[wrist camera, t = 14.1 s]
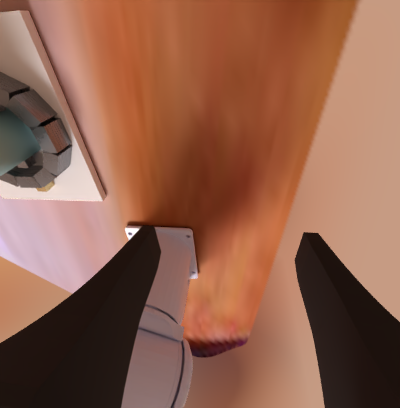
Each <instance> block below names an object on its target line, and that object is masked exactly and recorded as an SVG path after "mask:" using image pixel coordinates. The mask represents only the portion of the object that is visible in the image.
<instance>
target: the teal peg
mask: <svg viewBox="0 0 400 408" xmlns="http://www.w3.org/2000/svg"><path fill="white" fill-rule="evenodd" d="M40 150H41V147H40V145H39V143H38V142H37V140H36V138H35V136H34V134H33V133H32V131H31V129H30V128H29V127H28V126H27V125H26V124H24V123H23V122H22V121H21V120H20V119H19V118H18V117H17V116H16V115H15V114H14V113H13V112H11V111H10V110H9V109H8V108H6V107H4V106H2V105H0V176H1V175H3V174H5V173H6V172H8V171H9V170H11V169H12V168H14V167H15V166H18V168H30V167H31V166H32V165H34V164H35V163H37V162H36V161H35V159H34V157H33V155H34V154H35V153H37V152H38V151H40Z"/></svg>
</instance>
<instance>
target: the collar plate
mask: <svg viewBox="0 0 400 408" xmlns="http://www.w3.org/2000/svg"><path fill="white" fill-rule="evenodd" d="M0 105H2V106H4V107H6V108H8V109H9V110H10V111H11V112H13V113H14V114H15V115H16V116H17V117H18V118H19V119H20V120H21V121H22V122H23V123H24V124H26V125H27V126H28V127H29V128H30V129H31V131H32V133H33V134H34V136H35V138H36V140H37V142H38V143H39V145H40V147H41V150H40V151H38V152H37V153H35V154H34V155H33V157H34V159H35V161H36V162H37V163H35V164H34V165H32V166H31V167H30V168H18V166H15V167H14V168H12V169H11V170H9V171H8V172H6V173H5V174H3V175H1V176H0V195H1V196H2V198H3V199H37V200H73V201H104V199H105V198H106V195H105V192H104V190H103V187H102V185H101V183H100V180H99V178H98V176H97V173H96V171H95V168H94V166H93V164H92V161H91V159H90V156H89V154H88V152H87V149H86V147H85V144H84V142H83V140H82V137H81V135H80V132H79V130H78V128H77V125H76V123H75V121H74V118H73V116H72V113H71V111H70V109H69V106H68V104H67V101H66V99H65V97H64V94H63V92H62V89H61V87H60V85H59V82H58V80H57V77H56V75H55V73H54V70H53V68H52V66H51V63H50V61H49V58H48V56H47V54H46V51H45V49H44V46H43V44H42V42H41V39H40V37H39V34H38V32H37V30H36V27H35V25H34V22H33V20H32V18H31V15H30V13H29V11H23V10H18V11H8V12H0Z"/></svg>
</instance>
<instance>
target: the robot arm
mask: <svg viewBox="0 0 400 408" xmlns="http://www.w3.org/2000/svg"><path fill="white" fill-rule="evenodd" d="M125 232H126V234H127V237H128V239H129V241H128V242H127V243H126V244H125V245H124V246H123V248H122V249H121V250H120V251H119V252H118V253H117V254H116V255H115V256H114V257H113V258H112V259H111V260H110V261H109V262H108V263H107V264H106V265H105V266H104V267H103V268H102V269H101V270H100V271H99V272H98V273H97V274H95V275H94V276H93V277H92V278H91V279H90V280H89V281H88V282H86V283H85V284H84V285H83V286H82V287H81V288H79V289H78V290H77V291H76V292H74V293H73V294H72V295H71V296H69V297H68V298H67V299H66V300H64V301H63V302H61V303H60V304H59V305H58V306H56V307H55V308H54V309H52V310H51V311H49V312H48V313H47V314H45V315H44V316H42V317H41V318H39V319H38V320H37V321H35V322H33V323H32V324H30V325H29V326H27V327H26V328H24V329H23V330H21V331H19V332H18V333H16V334H15V335H13V336H12V337H10V338H8V339H6V340H5V341H3V342H1V343H0V408H183V407H184V405H185V402H186V400H187V396H188V393H189V389H190V383H191V377H192V366H193V362H192V354H191V350H190V346H189V343H188V342H187V340H185V339H184V338H183V332H184V327H183V326H180V325H181V323H182V320H183V317H184V311H185V305H186V300H187V294H188V289H189V283H190V278H193V279H196V278H198V270H197V262H196V254H195V246H194V238H193V231H192V230H191V229H189V228H171V227H154V226H144V225H143V226H126V228H125ZM130 232H131V233H130ZM188 235H189V236H188ZM295 264H296V272H297V278H298V283H299V287H300V290H301V294H302V298H303V301H304V305H305V308H306V312H307V316H308V319H309V323H310V326H311V330H312V334H313V338H314V343H315V349H316V354H317V360H318V366H319V372H320V378H321V384H322V391H323V397H324V405H325V408H400V322H399V321H398V320H397V319H396V318H394V317H393V316H392V315H391V314H390V313H389V312H388V311H387V310H386V309H385V308H384V307H383V306H382V305H381V304H380V303H379V302H378V301H377V300H376V299H375V298H373V296H372V295H371V294H370V293H369V292H368V291H367V290H366V289H365V288H364V287H363V286H362V284H361V283H360V282H359V281H357V279H356V278H355V277H354V276H353V275H352V273H351V272H350V271H349V270H348V269H347V268H346V267H345V266H344V264H343V263H342V262H341V261H340V259H339V258H338V257H337V256H336V255H335V253H334V252H333V251H332V250H331V249H330V247H329V246H328V245H327V244H326V242H325V241H324V240H323V239H322V237H321V236H320V235H319V234H318V233H305V232H304V233H303V236H302V239H301V242H300V246H299V249H298V251H297V255H296V258H295Z"/></svg>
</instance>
